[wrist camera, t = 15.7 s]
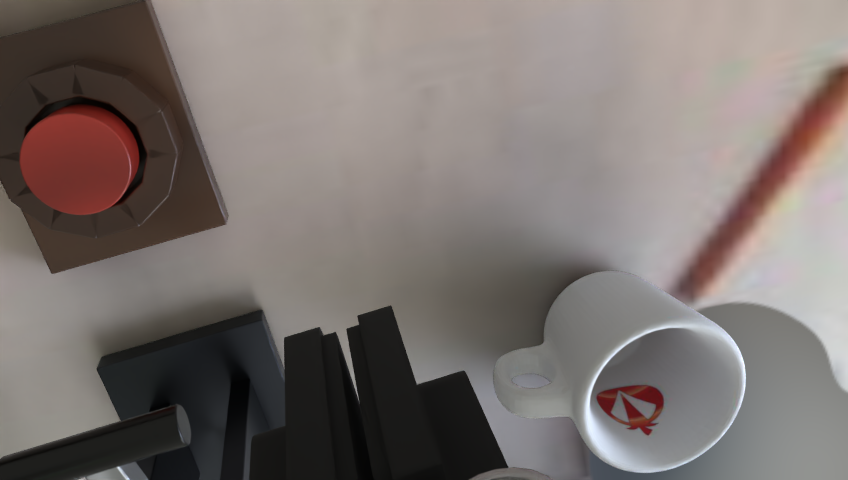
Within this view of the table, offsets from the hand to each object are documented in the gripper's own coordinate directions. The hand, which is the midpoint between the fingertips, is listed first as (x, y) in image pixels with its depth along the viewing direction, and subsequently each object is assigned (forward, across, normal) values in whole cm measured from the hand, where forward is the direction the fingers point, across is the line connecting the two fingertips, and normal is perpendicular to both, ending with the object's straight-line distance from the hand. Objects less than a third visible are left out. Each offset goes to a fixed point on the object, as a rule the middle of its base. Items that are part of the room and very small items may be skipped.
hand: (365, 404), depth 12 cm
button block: (+25, +9, -1) cm, 27 cm away
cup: (+25, -10, +15) cm, 31 cm away
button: (+22, +9, -1) cm, 24 cm away
